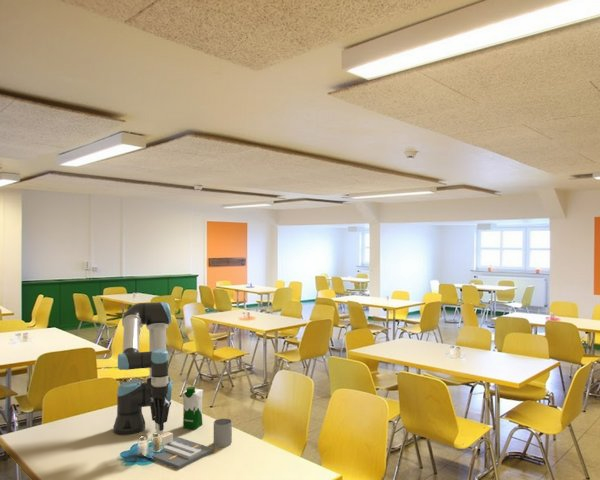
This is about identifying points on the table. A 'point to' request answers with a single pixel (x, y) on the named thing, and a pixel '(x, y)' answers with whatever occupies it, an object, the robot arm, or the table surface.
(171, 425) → the table surface
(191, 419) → the milk carton
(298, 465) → the table surface
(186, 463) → the console
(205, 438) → the table surface
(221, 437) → the cup
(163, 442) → the fader
